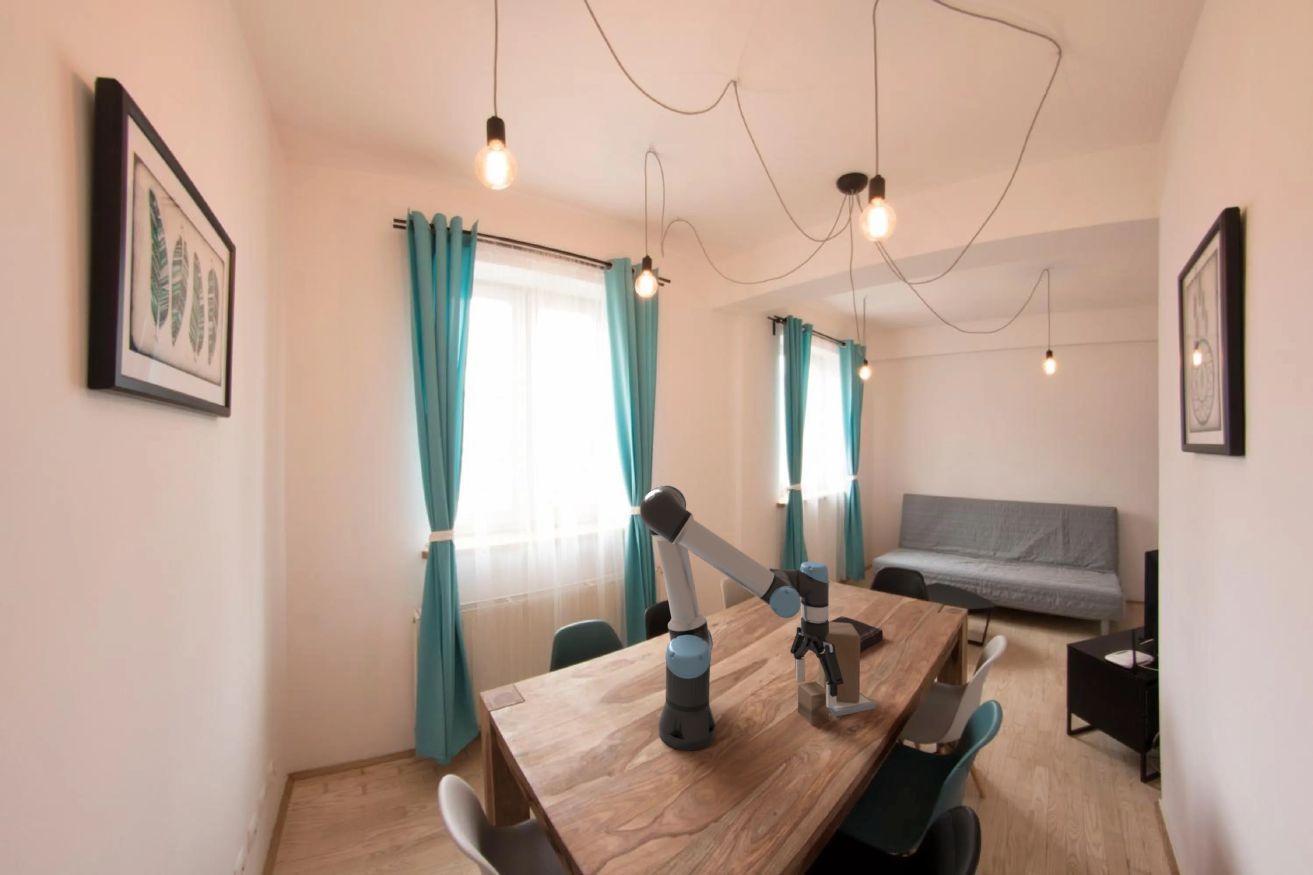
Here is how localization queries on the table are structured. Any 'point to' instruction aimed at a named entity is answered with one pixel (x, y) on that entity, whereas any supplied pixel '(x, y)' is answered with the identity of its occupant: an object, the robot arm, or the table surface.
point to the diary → (863, 632)
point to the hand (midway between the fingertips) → (815, 693)
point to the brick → (812, 702)
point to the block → (845, 660)
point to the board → (852, 706)
